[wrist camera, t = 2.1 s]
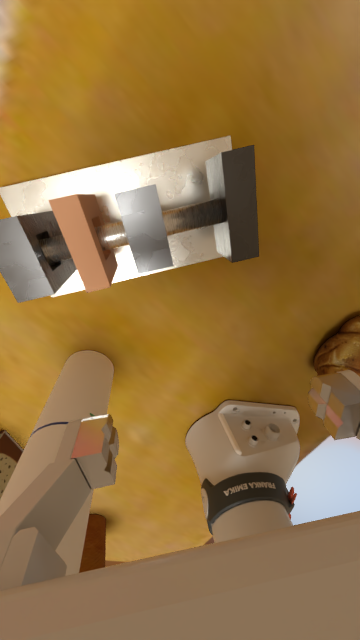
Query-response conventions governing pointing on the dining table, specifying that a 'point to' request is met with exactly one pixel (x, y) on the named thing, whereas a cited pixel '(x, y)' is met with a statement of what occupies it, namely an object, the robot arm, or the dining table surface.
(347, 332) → the bread roll
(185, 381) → the dining table surface
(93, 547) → the disposable coffee cup
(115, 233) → the shaft
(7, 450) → the food container
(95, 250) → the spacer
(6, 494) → the cylindrical container
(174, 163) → the shaft frame
